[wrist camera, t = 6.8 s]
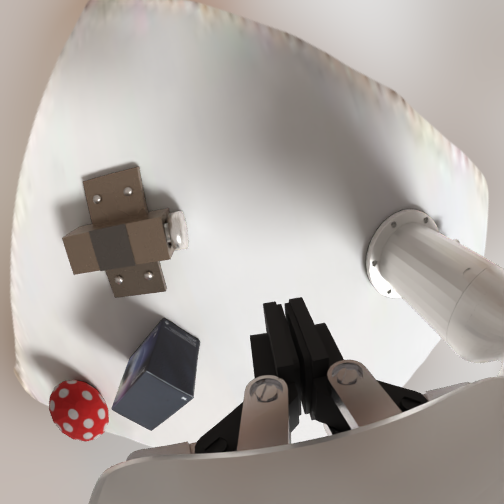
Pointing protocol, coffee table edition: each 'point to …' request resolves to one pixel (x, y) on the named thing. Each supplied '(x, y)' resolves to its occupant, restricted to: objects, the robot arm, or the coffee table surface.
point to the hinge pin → (177, 230)
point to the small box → (158, 376)
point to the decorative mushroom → (79, 410)
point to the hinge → (121, 236)
